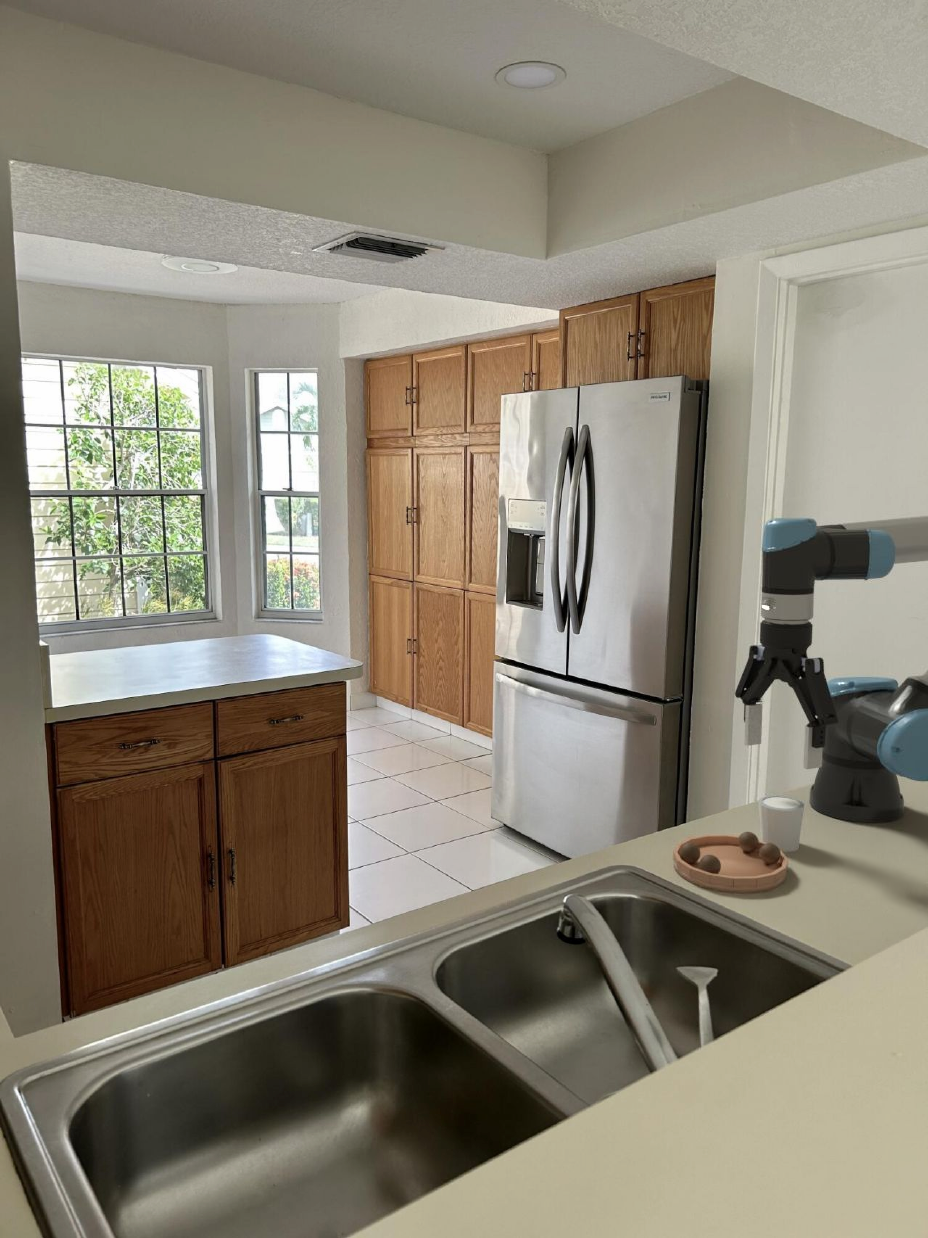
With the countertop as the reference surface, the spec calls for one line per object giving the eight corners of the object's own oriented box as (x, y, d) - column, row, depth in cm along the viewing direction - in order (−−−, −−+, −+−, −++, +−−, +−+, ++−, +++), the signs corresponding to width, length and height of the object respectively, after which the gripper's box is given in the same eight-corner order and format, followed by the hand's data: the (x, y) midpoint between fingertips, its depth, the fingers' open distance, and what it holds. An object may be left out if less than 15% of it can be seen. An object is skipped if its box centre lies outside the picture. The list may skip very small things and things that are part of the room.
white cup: (806, 854, 140) (808, 811, 139) (759, 852, 141) (760, 808, 140) (799, 837, 146) (800, 796, 145) (754, 835, 148) (755, 794, 147)
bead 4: (771, 857, 136) (771, 838, 136) (784, 865, 134) (785, 845, 133) (754, 861, 135) (755, 842, 135) (768, 869, 132) (768, 849, 132)
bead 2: (712, 869, 133) (712, 850, 132) (725, 877, 130) (725, 857, 129) (694, 873, 132) (695, 853, 131) (707, 881, 129) (707, 861, 128)
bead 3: (749, 846, 141) (750, 827, 140) (762, 853, 138) (763, 834, 138) (733, 849, 140) (734, 830, 139) (746, 856, 137) (746, 837, 137)
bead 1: (692, 857, 137) (692, 838, 137) (704, 864, 134) (704, 845, 134) (675, 860, 136) (675, 841, 136) (687, 868, 133) (687, 848, 133)
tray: (739, 841, 145) (739, 828, 145) (811, 881, 130) (811, 866, 130) (653, 858, 140) (653, 844, 139) (717, 901, 125) (717, 886, 124)
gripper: (715, 611, 149) (712, 738, 152) (826, 633, 126) (820, 782, 129) (753, 608, 151) (749, 733, 154) (868, 629, 128) (861, 775, 131)
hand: (781, 755), depth 142 cm, fingers open, 13 cm apart
